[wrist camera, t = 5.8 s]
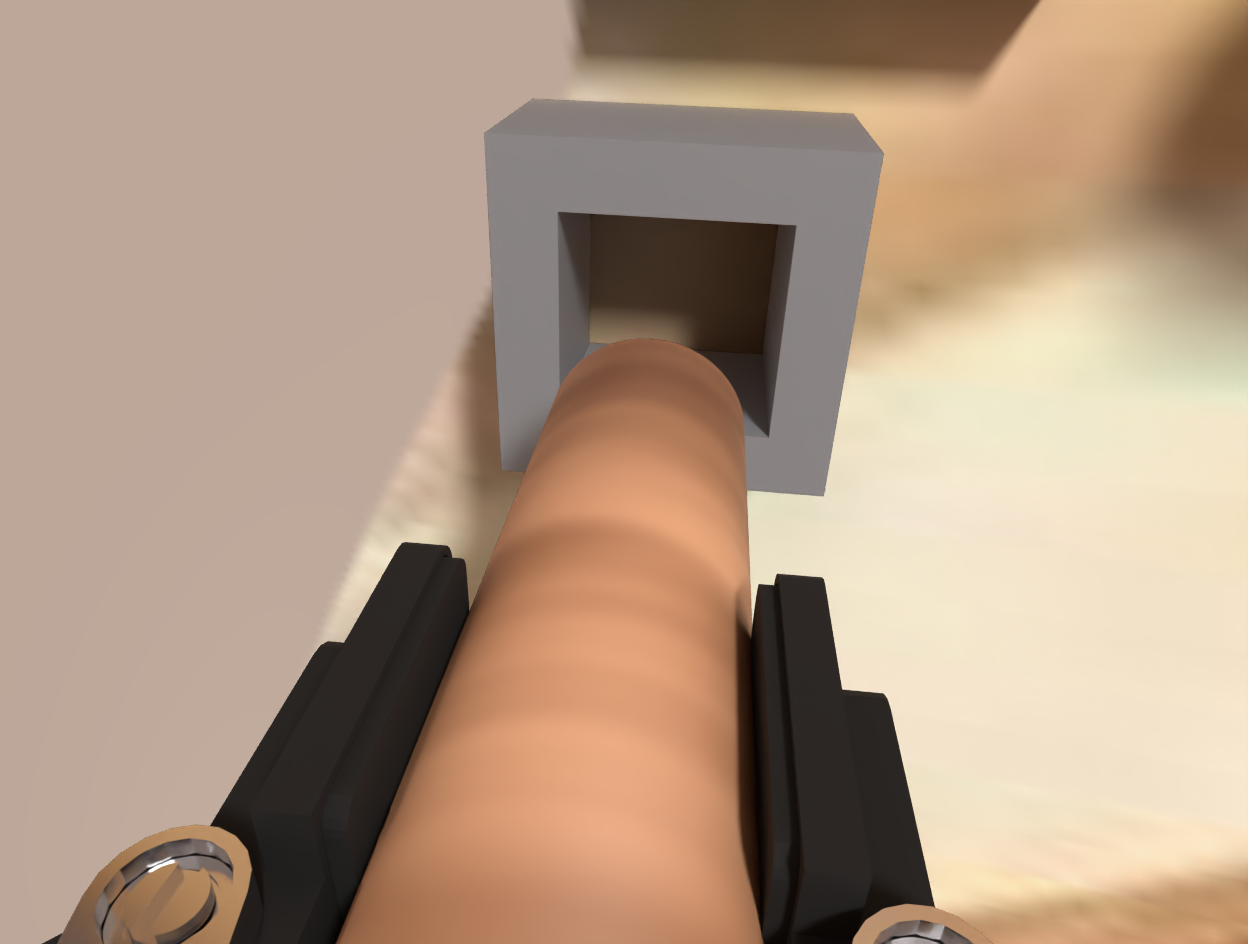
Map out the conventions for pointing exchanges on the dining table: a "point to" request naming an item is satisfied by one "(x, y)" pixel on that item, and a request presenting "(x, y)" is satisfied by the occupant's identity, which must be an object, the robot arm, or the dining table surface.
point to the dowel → (594, 691)
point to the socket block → (683, 189)
